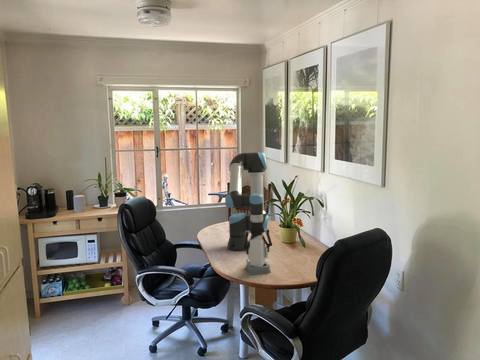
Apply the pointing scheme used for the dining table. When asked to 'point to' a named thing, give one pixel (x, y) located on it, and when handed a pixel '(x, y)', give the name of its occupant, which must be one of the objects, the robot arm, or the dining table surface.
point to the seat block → (257, 268)
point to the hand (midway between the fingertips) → (257, 258)
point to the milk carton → (257, 251)
